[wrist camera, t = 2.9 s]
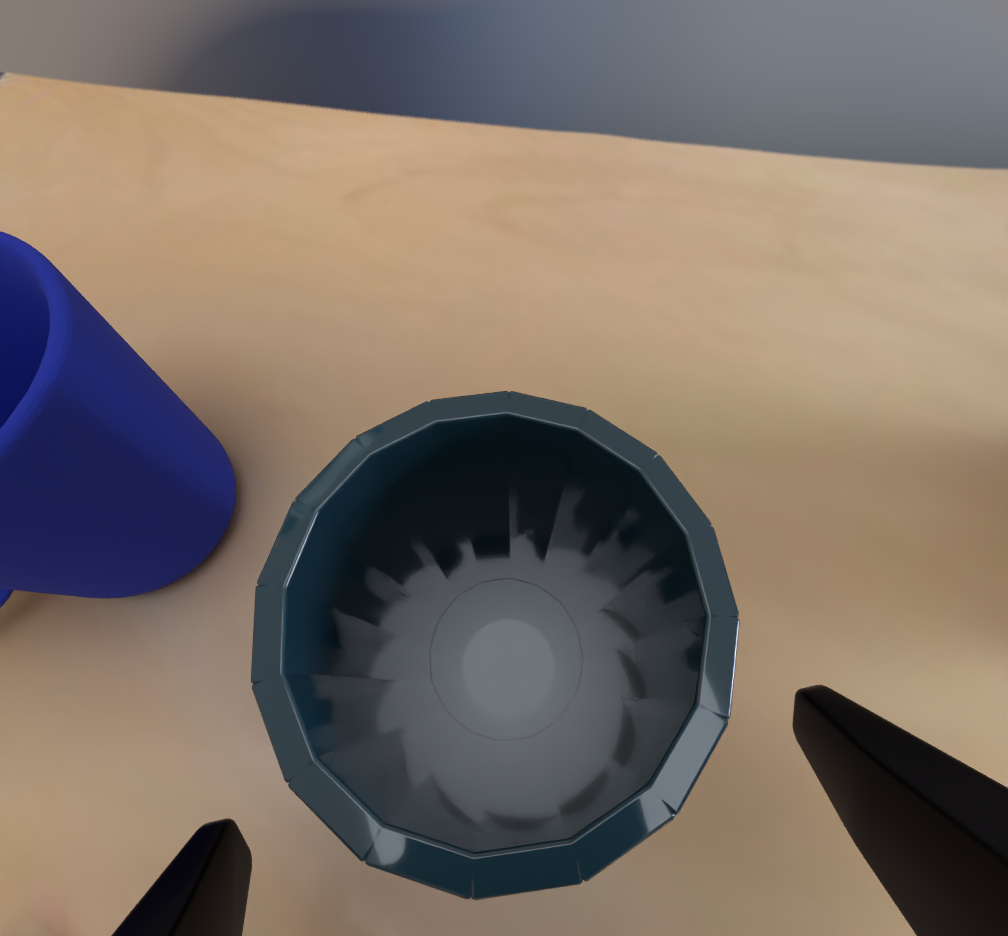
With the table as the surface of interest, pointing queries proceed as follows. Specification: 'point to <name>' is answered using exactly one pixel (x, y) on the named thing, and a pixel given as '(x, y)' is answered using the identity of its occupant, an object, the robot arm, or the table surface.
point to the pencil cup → (494, 644)
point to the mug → (94, 450)
